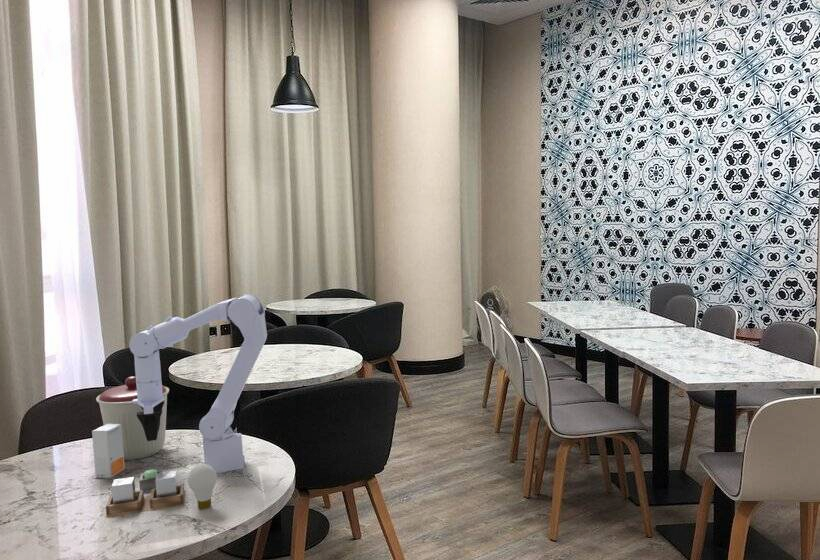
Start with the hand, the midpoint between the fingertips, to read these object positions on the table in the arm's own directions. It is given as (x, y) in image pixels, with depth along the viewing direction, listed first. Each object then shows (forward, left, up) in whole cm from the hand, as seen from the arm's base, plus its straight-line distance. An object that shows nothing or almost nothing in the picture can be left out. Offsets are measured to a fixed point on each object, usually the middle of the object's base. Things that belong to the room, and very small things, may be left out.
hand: (153, 435), depth 165 cm
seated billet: (-4, +20, -9) cm, 22 cm away
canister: (+6, -19, -10) cm, 22 cm away
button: (0, +10, -10) cm, 14 cm away
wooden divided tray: (+1, +20, -10) cm, 22 cm away
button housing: (0, +10, -10) cm, 14 cm away
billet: (+5, +20, -9) cm, 22 cm away
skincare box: (+11, -5, -10) cm, 16 cm away
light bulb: (-11, +27, -10) cm, 31 cm away
